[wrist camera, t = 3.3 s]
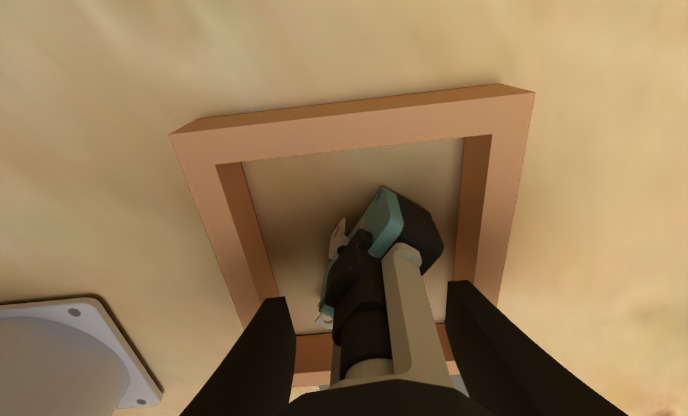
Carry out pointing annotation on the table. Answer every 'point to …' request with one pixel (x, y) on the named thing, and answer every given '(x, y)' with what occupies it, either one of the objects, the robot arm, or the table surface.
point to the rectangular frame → (354, 133)
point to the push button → (383, 321)
